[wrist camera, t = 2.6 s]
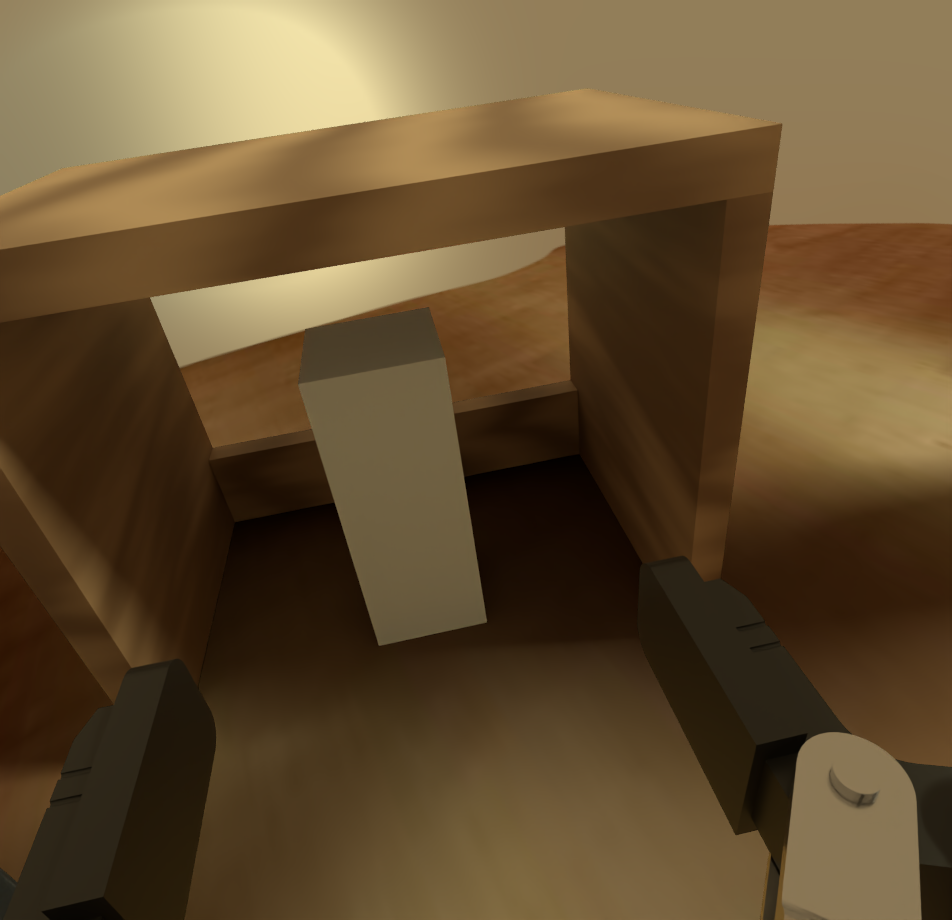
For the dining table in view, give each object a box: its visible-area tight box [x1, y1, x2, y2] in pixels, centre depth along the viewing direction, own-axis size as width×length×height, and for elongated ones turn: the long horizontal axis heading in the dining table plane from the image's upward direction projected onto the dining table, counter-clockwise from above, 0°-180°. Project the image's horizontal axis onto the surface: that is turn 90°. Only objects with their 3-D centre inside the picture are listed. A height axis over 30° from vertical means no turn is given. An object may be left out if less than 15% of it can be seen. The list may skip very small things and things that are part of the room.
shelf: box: [0, 88, 782, 704], centre depth 25 cm, size 21×14×18 cm
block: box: [298, 307, 487, 646], centre depth 25 cm, size 4×4×12 cm
